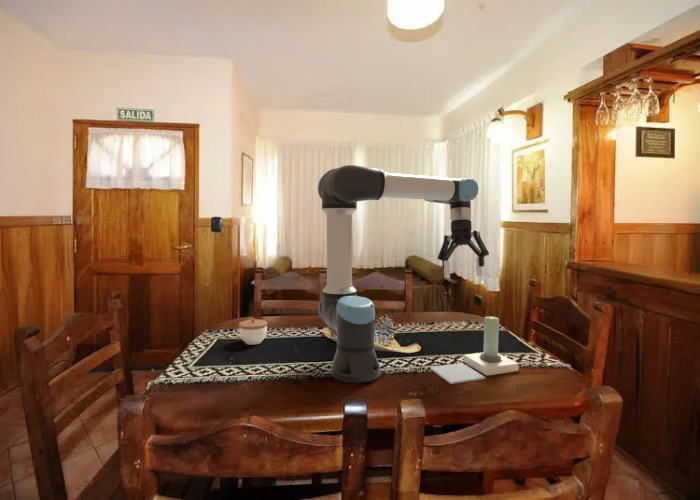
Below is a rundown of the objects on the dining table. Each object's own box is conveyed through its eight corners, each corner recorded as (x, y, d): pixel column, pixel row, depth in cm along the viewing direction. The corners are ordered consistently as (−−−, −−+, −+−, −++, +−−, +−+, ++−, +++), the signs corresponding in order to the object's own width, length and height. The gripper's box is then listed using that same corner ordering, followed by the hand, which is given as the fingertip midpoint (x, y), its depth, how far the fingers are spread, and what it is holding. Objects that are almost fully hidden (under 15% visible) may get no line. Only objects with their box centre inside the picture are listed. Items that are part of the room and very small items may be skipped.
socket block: (486, 375, 119) (486, 367, 119) (463, 362, 131) (463, 354, 130) (518, 371, 123) (518, 363, 123) (493, 358, 134) (493, 351, 134)
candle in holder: (488, 370, 123) (489, 321, 122) (475, 363, 129) (477, 316, 128) (504, 368, 125) (506, 319, 124) (491, 361, 131) (493, 315, 130)
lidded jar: (271, 338, 156) (270, 315, 155) (262, 347, 145) (261, 322, 144) (245, 337, 157) (244, 315, 156) (234, 346, 146) (234, 322, 145)
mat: (450, 384, 113) (450, 382, 113) (430, 369, 124) (430, 367, 124) (485, 379, 117) (485, 377, 117) (462, 364, 128) (462, 363, 128)
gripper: (497, 216, 139) (499, 275, 136) (439, 227, 158) (440, 279, 154) (486, 213, 134) (488, 274, 131) (427, 224, 153) (429, 278, 150)
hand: (462, 277), depth 143 cm, fingers open, 13 cm apart
